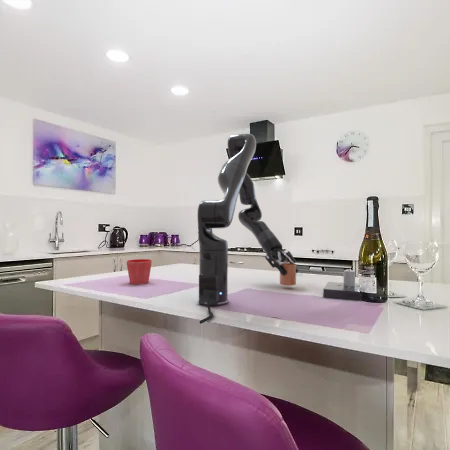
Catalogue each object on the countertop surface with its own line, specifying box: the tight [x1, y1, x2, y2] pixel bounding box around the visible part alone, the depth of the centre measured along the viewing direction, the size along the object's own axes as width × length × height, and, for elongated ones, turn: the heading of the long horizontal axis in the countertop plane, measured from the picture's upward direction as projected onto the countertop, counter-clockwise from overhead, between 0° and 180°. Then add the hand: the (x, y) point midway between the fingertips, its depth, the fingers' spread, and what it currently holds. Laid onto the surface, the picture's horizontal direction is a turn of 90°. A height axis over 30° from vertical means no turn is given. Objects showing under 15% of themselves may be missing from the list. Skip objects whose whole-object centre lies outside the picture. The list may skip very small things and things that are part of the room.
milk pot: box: [279, 262, 297, 286], centre depth 132 cm, size 6×6×8 cm
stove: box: [322, 281, 362, 302], centre depth 120 cm, size 16×12×3 cm
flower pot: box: [126, 258, 153, 285], centre depth 144 cm, size 11×11×10 cm
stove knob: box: [343, 268, 356, 287], centre depth 121 cm, size 4×4×6 cm
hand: (291, 273), depth 131 cm, fingers closed on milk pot, 6 cm apart
